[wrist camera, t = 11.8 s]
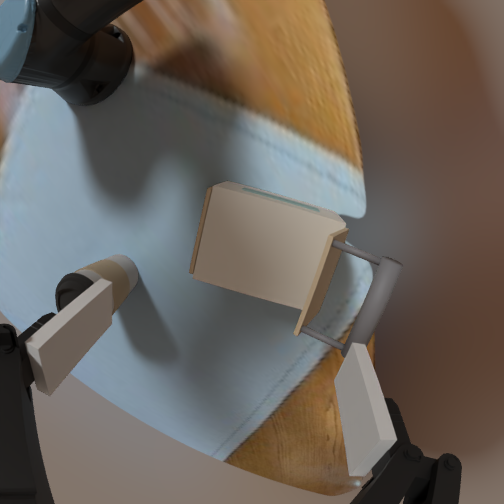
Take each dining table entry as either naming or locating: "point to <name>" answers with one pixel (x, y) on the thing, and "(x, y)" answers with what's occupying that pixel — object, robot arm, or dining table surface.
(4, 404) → the robot arm
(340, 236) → the drawer with bar handle
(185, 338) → the dining table surface
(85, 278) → the coffee cup
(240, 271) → the carton
